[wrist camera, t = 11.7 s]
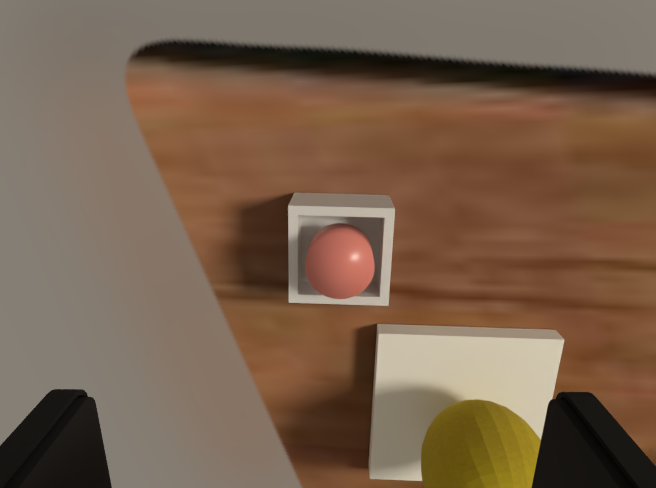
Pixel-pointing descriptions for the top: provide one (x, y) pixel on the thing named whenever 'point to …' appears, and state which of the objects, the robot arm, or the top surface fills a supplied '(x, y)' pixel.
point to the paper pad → (452, 383)
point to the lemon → (479, 448)
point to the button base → (350, 209)
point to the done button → (339, 261)
